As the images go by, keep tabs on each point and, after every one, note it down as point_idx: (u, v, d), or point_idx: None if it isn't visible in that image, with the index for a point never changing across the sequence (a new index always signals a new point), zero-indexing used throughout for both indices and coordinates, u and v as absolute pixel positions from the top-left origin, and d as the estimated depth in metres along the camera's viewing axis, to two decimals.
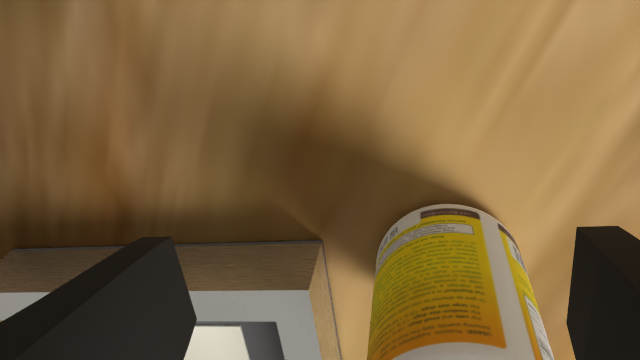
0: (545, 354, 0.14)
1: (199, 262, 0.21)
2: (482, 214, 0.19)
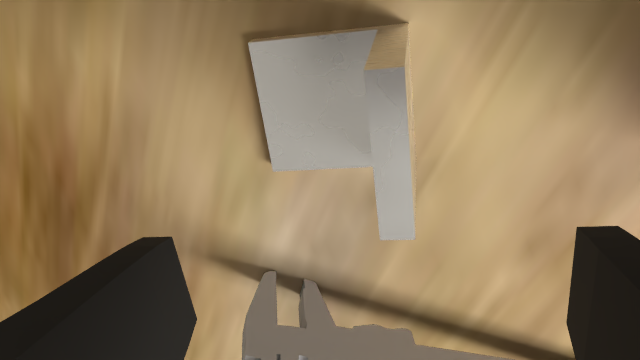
0: None
1: None
2: None
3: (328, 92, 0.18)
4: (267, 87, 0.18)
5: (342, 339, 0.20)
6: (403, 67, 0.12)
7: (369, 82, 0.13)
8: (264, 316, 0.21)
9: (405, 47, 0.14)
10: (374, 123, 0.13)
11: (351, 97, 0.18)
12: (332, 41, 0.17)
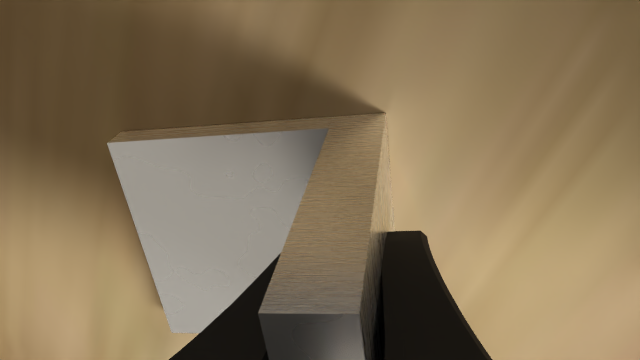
0: None
1: None
2: None
3: (250, 224, 0.11)
4: (148, 212, 0.11)
5: None
6: (356, 313, 0.05)
7: (275, 336, 0.05)
8: None
9: (371, 206, 0.07)
10: None
11: (289, 233, 0.11)
12: (250, 145, 0.10)
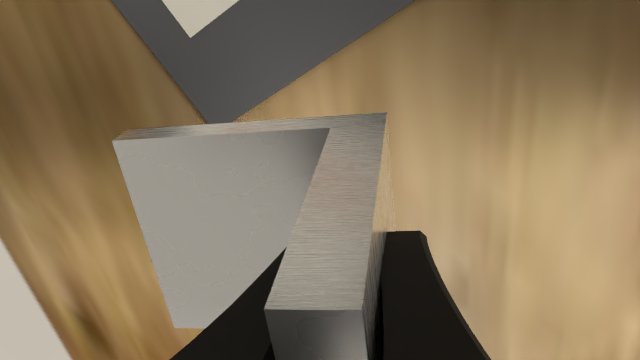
0: None
1: None
2: None
3: (252, 221, 0.11)
4: (152, 209, 0.11)
5: None
6: (359, 309, 0.05)
7: (280, 331, 0.05)
8: None
9: (373, 205, 0.07)
10: None
11: (291, 231, 0.11)
12: (253, 144, 0.10)
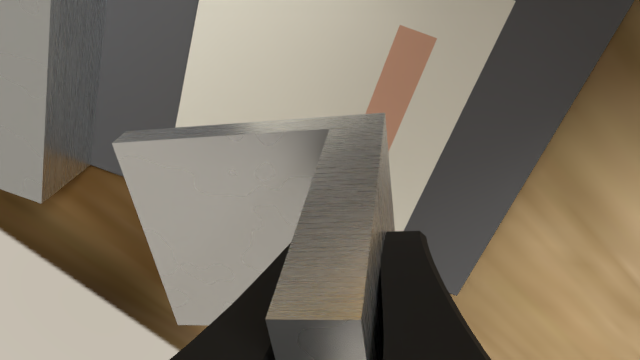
0: None
1: None
2: None
3: (253, 221, 0.11)
4: (153, 210, 0.11)
5: None
6: (358, 319, 0.05)
7: (281, 340, 0.05)
8: None
9: (371, 211, 0.07)
10: None
11: (291, 230, 0.11)
12: (253, 145, 0.10)
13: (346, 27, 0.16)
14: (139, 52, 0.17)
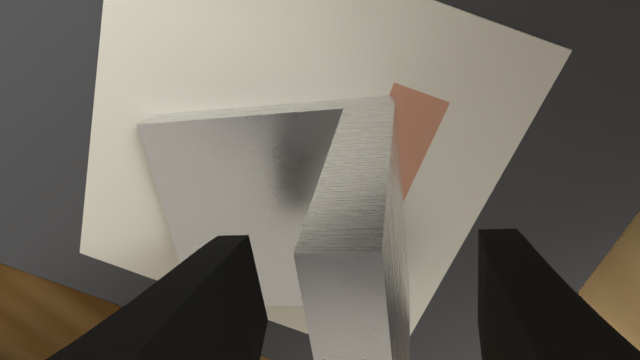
0: None
1: None
2: None
3: (269, 200, 0.11)
4: (174, 190, 0.12)
5: None
6: (378, 251, 0.06)
7: (307, 275, 0.06)
8: None
9: (386, 170, 0.07)
10: (322, 346, 0.06)
11: (305, 208, 0.11)
12: (270, 125, 0.11)
13: (314, 84, 0.11)
14: (24, 113, 0.12)
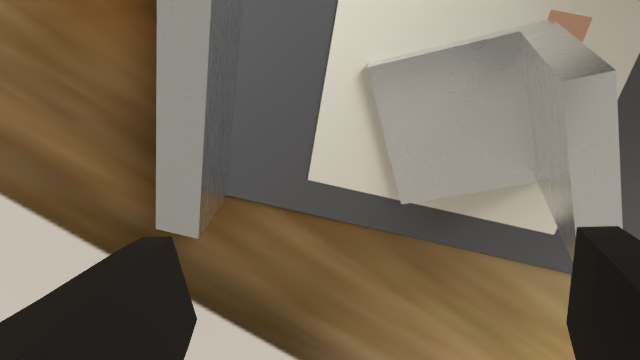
0: None
1: None
2: None
3: (463, 109, 0.16)
4: (391, 113, 0.17)
5: None
6: (614, 71, 0.10)
7: (569, 94, 0.11)
8: None
9: (585, 46, 0.12)
10: (575, 142, 0.11)
11: (490, 111, 0.16)
12: (466, 52, 0.15)
13: (492, 20, 0.15)
14: (274, 77, 0.17)
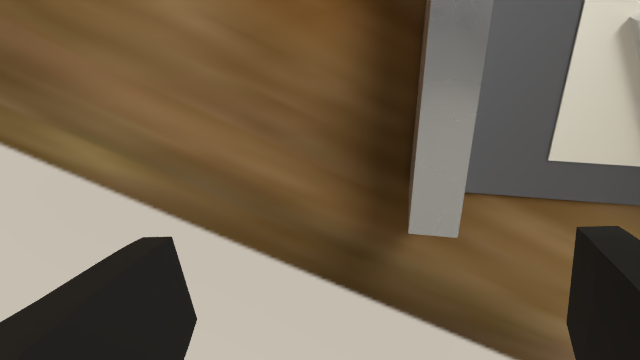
0: None
1: None
2: None
3: None
4: None
5: None
6: None
7: None
8: None
9: None
10: None
11: None
12: None
13: None
14: (513, 51, 0.16)
